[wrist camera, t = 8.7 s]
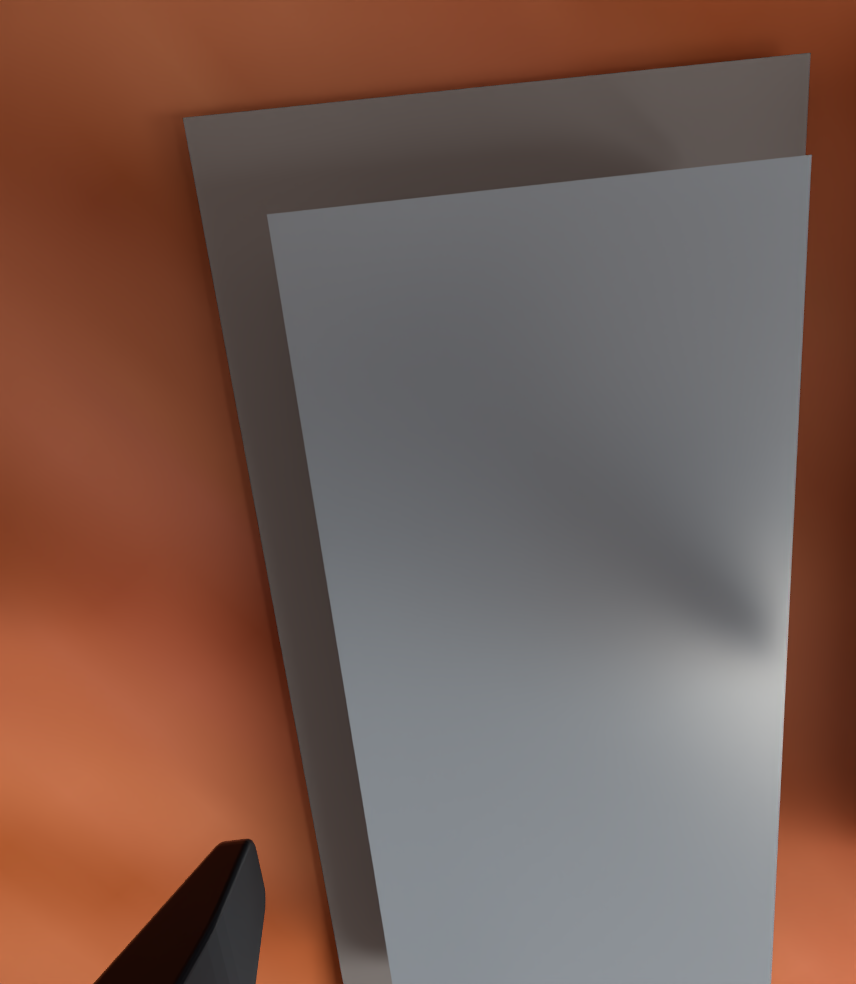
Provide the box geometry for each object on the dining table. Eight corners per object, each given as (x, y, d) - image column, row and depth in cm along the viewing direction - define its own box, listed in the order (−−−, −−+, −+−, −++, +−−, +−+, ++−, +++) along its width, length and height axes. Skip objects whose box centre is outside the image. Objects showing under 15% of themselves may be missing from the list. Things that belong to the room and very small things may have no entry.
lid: (715, 195, 10) (811, 154, 8) (706, 935, 15) (767, 1056, 12) (298, 240, 10) (267, 214, 8) (409, 972, 14) (411, 1101, 12)
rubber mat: (791, 65, 10) (810, 53, 10) (752, 973, 16) (763, 993, 15) (193, 127, 10) (182, 117, 10) (356, 1020, 15) (354, 1043, 15)
